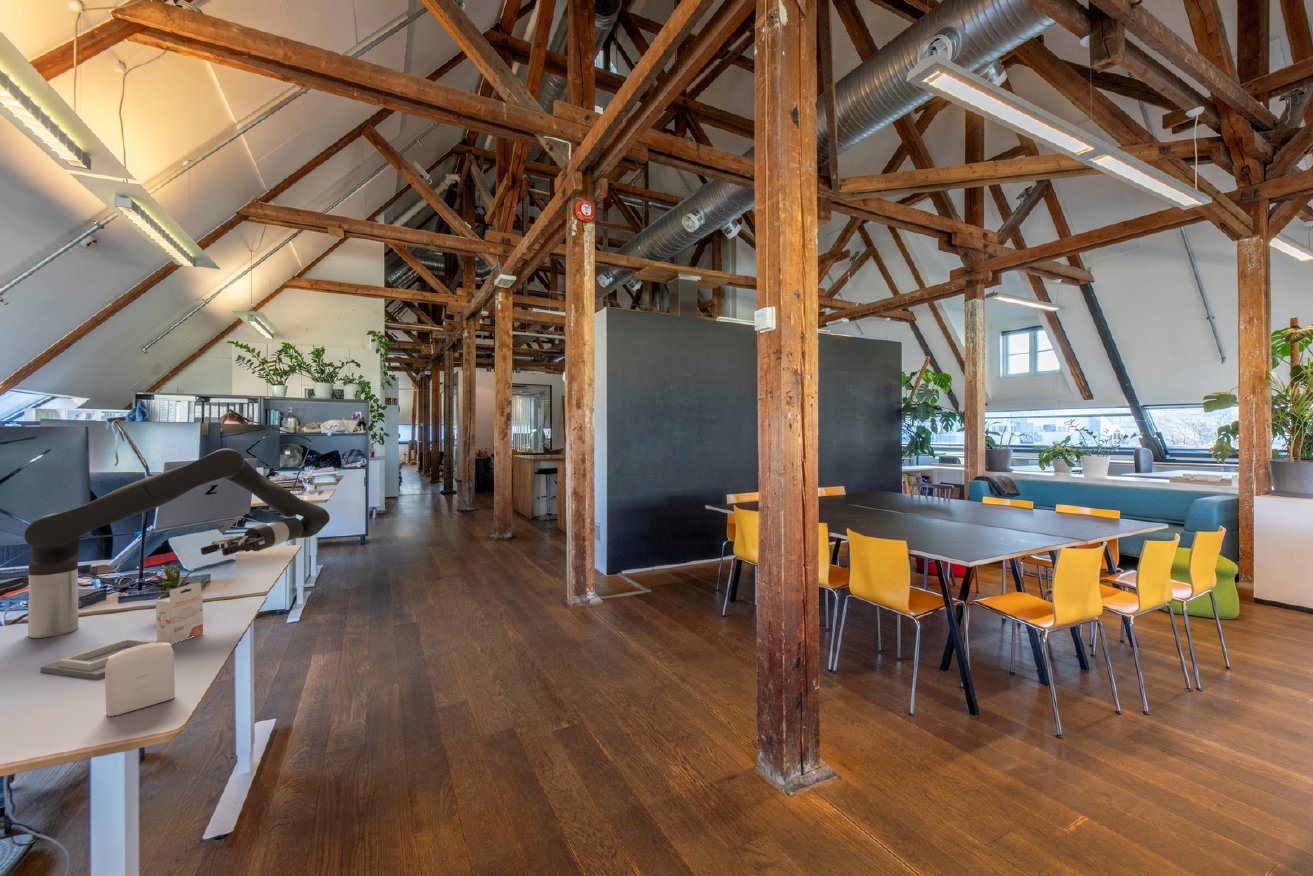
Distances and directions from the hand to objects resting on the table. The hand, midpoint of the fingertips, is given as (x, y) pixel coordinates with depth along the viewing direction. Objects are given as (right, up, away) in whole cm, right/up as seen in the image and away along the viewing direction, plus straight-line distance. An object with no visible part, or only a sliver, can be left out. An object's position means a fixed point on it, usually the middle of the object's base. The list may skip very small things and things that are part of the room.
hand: (212, 551), depth 154 cm
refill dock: (-7, -22, -22) cm, 32 cm away
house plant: (-23, -22, +11) cm, 34 cm away
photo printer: (+22, -22, -44) cm, 54 cm away
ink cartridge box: (-2, -22, -8) cm, 24 cm away
